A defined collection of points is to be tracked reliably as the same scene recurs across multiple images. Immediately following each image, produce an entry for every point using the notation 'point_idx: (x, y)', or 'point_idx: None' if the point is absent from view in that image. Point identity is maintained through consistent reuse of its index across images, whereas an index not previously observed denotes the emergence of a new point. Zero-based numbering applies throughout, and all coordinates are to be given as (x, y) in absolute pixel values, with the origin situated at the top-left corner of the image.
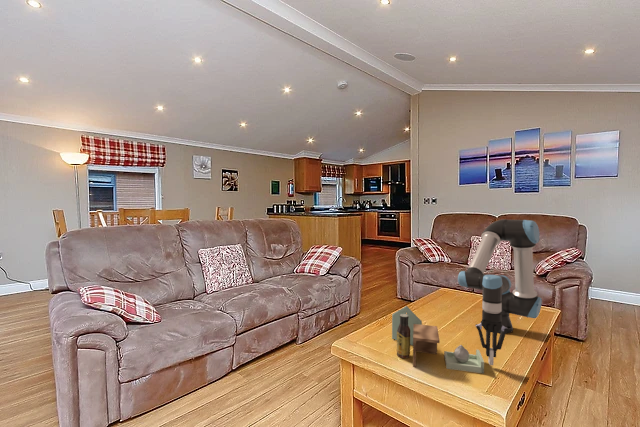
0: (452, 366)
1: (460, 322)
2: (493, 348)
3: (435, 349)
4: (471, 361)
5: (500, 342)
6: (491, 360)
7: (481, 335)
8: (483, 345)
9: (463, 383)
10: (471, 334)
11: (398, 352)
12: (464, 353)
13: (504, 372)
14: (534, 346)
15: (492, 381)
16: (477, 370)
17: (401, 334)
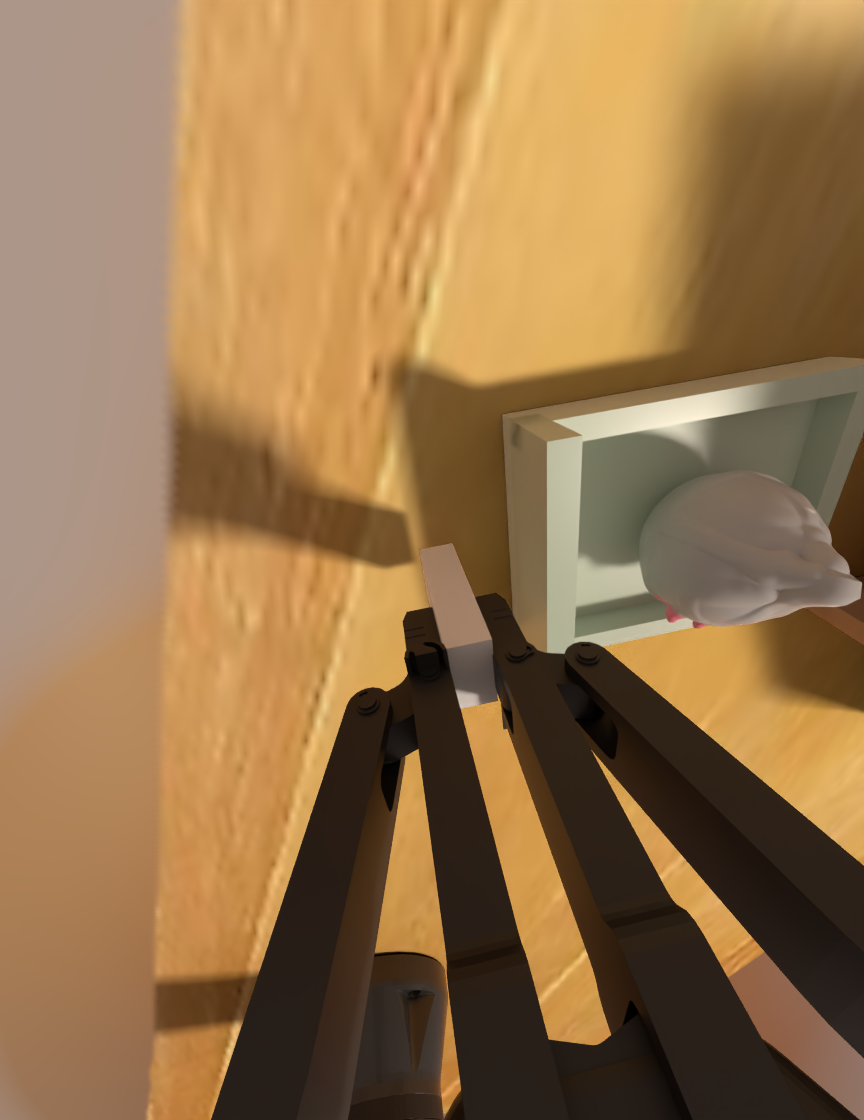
0: (804, 368)
1: (547, 954)
2: (451, 675)
3: (852, 607)
4: (589, 564)
5: (355, 799)
6: (444, 569)
7: (769, 827)
8: (603, 665)
9: (776, 9)
10: (511, 891)
11: None
12: (759, 516)
13: (321, 524)
14: (172, 929)
15: (434, 256)
16: (569, 408)
17: None
